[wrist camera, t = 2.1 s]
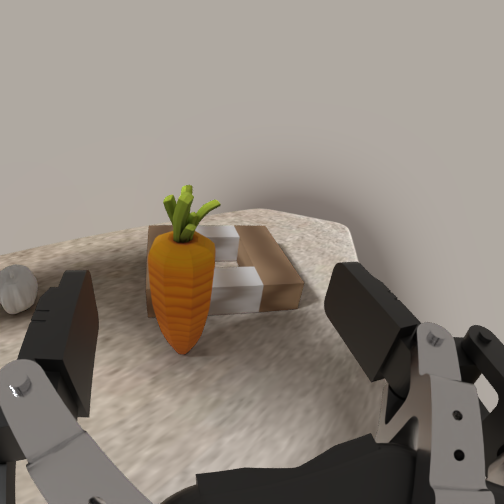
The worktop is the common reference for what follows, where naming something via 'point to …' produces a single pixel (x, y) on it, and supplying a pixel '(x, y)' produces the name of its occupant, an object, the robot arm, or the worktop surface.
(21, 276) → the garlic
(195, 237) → the carrot
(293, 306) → the brown and silver frame
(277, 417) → the worktop surface
